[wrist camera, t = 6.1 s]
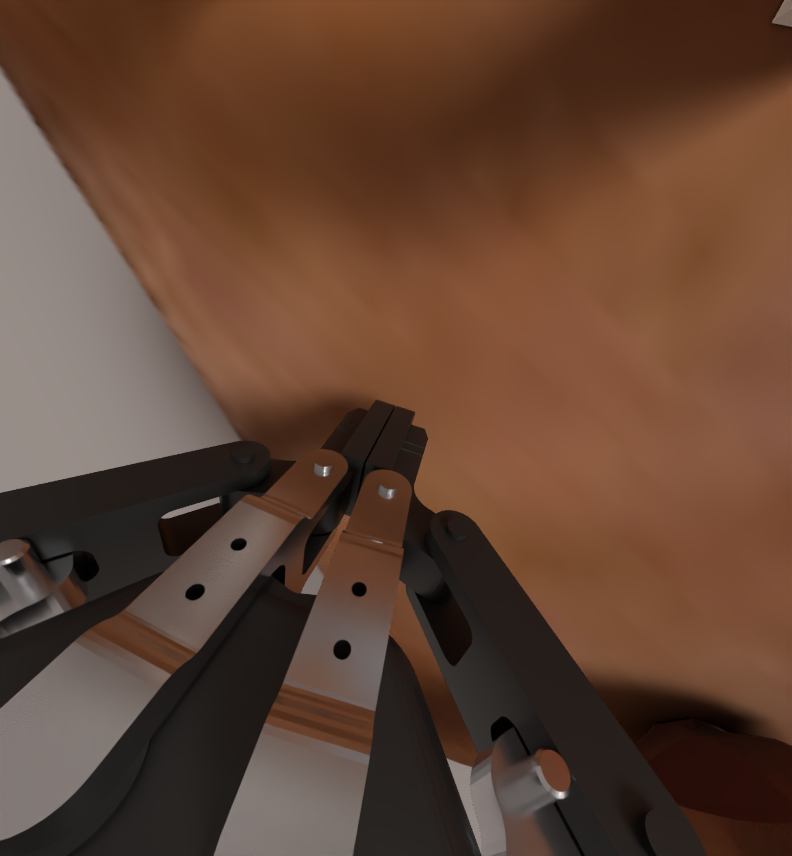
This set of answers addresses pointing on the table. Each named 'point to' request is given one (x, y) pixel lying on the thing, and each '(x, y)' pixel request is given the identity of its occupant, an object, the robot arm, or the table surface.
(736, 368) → the table surface
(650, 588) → the table surface
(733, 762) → the butternut squash
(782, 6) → the bridge
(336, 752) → the robot arm
